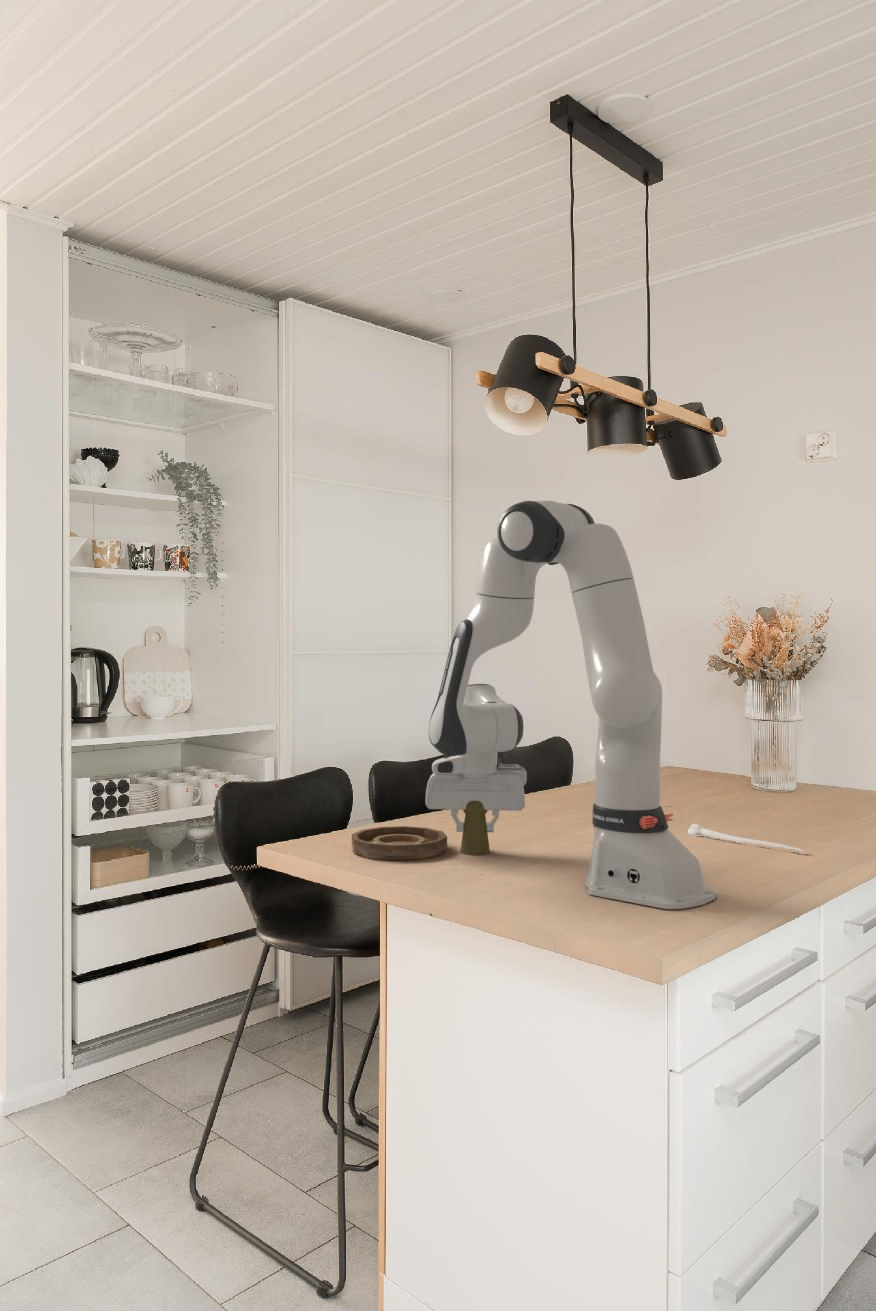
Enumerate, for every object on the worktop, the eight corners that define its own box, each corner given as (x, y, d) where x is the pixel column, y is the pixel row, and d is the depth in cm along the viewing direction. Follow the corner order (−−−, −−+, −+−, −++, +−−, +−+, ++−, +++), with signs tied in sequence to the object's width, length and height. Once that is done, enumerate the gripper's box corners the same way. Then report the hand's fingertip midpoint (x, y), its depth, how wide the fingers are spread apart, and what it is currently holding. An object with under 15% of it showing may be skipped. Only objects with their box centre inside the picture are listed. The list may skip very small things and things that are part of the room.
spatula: (815, 855, 191) (815, 841, 191) (805, 858, 188) (805, 844, 188) (695, 834, 211) (695, 821, 211) (684, 836, 209) (684, 823, 209)
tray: (464, 851, 191) (464, 836, 191) (390, 865, 179) (390, 849, 179) (406, 836, 205) (406, 823, 205) (334, 848, 193) (334, 834, 193)
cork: (487, 855, 187) (487, 800, 187) (457, 854, 188) (458, 799, 188) (492, 849, 193) (492, 796, 193) (463, 848, 194) (463, 794, 194)
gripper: (526, 762, 193) (526, 829, 193) (427, 761, 194) (427, 827, 195) (527, 766, 186) (526, 835, 187) (424, 764, 188) (424, 833, 188)
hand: (475, 831), depth 191 cm, fingers closed on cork, 5 cm apart
